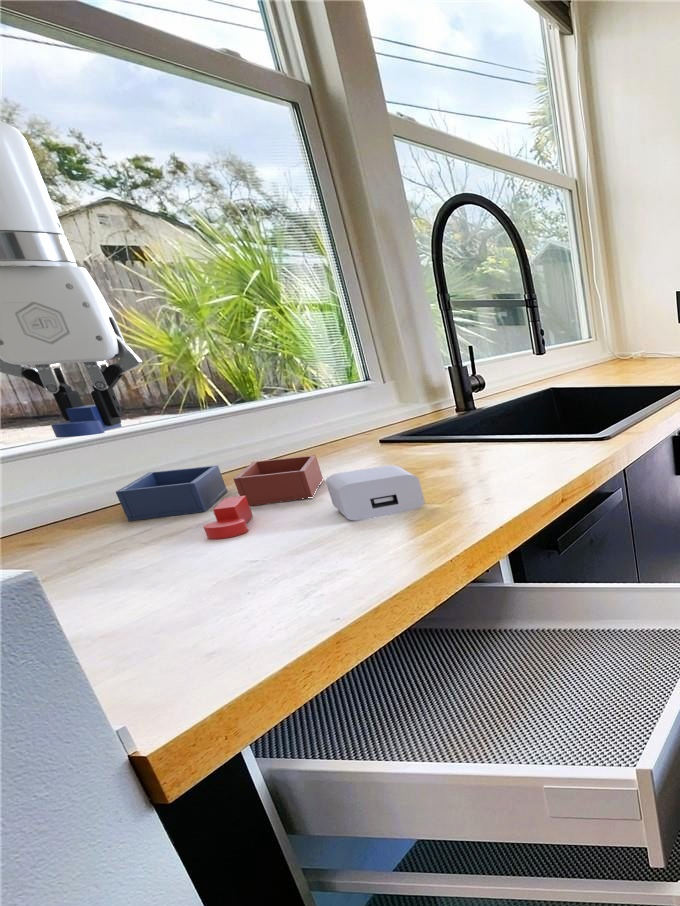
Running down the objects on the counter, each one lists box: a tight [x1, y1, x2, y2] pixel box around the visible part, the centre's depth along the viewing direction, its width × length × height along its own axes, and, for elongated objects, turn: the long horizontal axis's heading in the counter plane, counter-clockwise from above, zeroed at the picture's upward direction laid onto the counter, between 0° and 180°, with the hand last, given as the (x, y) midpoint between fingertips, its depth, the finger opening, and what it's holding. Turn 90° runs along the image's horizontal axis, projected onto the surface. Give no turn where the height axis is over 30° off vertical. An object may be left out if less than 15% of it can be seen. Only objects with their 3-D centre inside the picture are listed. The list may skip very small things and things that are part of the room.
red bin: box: [233, 454, 324, 507], centre depth 102 cm, size 8×13×4 cm, turn 27°
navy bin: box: [115, 464, 228, 522], centre depth 97 cm, size 8×13×4 cm, turn 27°
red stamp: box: [203, 496, 254, 540], centre depth 86 cm, size 10×4×3 cm, turn 27°
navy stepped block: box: [50, 404, 122, 438], centre depth 80 cm, size 10×4×3 cm, turn 26°
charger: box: [325, 464, 426, 522], centre depth 94 cm, size 5×9×15 cm
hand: (97, 424), depth 82 cm, fingers closed on navy stepped block, 2 cm apart
